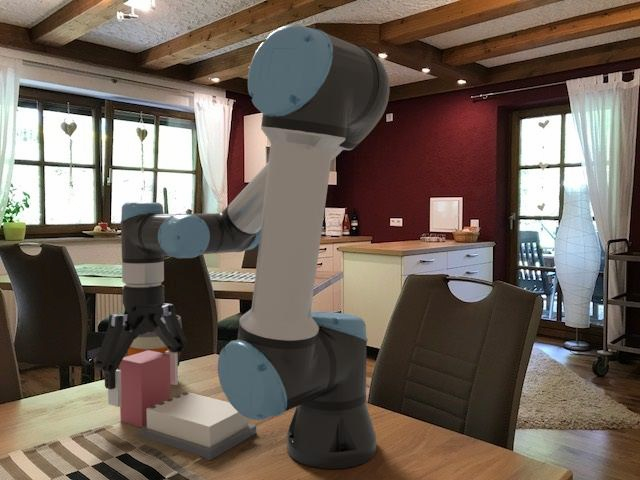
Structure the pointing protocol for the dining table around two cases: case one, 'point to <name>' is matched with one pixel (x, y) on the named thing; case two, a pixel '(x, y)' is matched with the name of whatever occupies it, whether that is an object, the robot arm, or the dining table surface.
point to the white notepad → (197, 425)
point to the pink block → (143, 385)
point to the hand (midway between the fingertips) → (144, 393)
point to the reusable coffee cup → (150, 342)
